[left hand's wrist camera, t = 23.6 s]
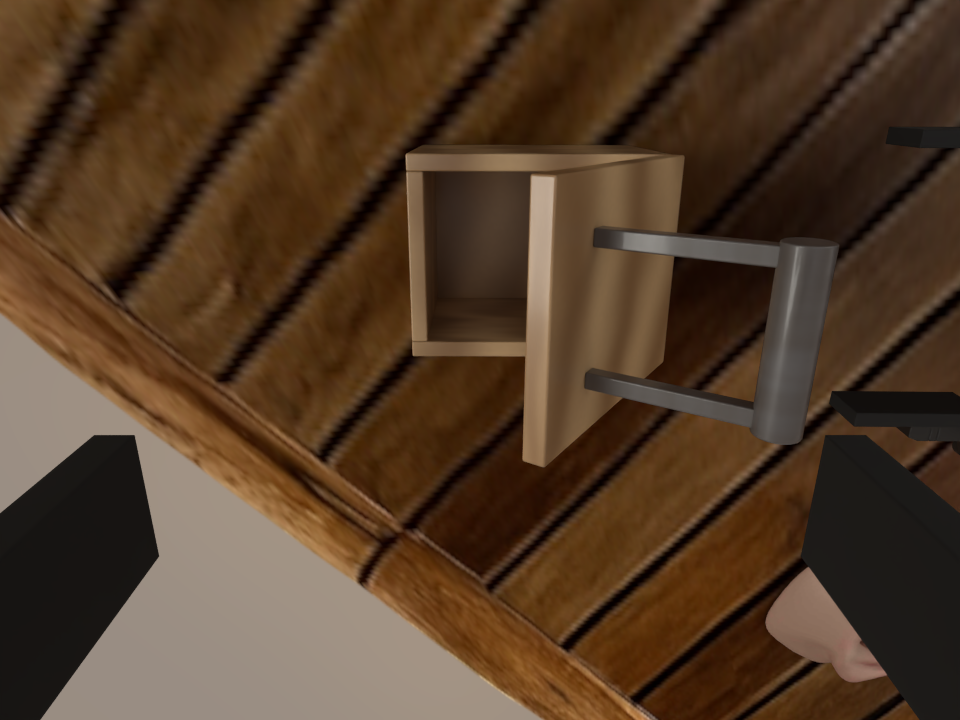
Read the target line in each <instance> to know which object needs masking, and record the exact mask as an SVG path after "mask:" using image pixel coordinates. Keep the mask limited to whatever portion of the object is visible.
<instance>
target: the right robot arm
mask: <svg viewBox="0 0 960 720" xmlns="http://www.w3.org/2000/svg"><path fill="white" fill-rule="evenodd" d="M886 144H892V145H900V146H908V147H917V148H960V127H889V130H888V135H887V140H886ZM829 404H830V405H831V406H832V407H833V408H835V409H836V410H837V411H838V412H839V413H840V414H841V415H842V416H843V417H844V418H845V419H847V420H848V421H849V422H850V423H851V424H852V425H853V426H864V427H897V428H898V429H899V430H900V431H902V432H903V433H904V434H905V435H906V436H908V437H909V438H912V439H914V440H917V441H928V440H929V441H954V442H953V444H952V448H953V450H954V451H955V452H956V453H958V454H959V455H960V397H959V396H958V395H956V394H955V393H953V392H874V391H832V393H831V398H830V402H829Z"/></svg>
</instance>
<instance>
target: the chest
mask: <svg viewBox="0 0 960 720" xmlns="http://www.w3.org/2000/svg"><path fill="white" fill-rule="evenodd" d="M660 155H671V154H668V153H663V152H658V151H653V150H648V149H644V148H639V147H634V146H630V145H422V146H420V147H418V148H417V149H415V150H413V151H411V152H409V153H407V154H406V170H407V172H406V180H407V208H408V236H409V264H410V293H411V321H412V340H413V342H412V349H413V356H526V320H527V284H528V248H529V212H530V176H531V174H533V173H539V172H547V171H554V170H561V169H568V168H575V167H582V166H589V165H596V164H603V163H610V162H617V161H624V160H631V159H638V158H645V157H653V156H660Z"/></svg>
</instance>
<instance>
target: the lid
mask: <svg viewBox="0 0 960 720" xmlns="http://www.w3.org/2000/svg"><path fill="white" fill-rule="evenodd" d="M684 159H685V157H684V155H660V156H653V157H645V158H638V159H631V160H624V161H617V162H610V163H603V164H596V165H589V166H582V167H575V168H568V169H561V170H554V171H547V172H539V173H533V174H531V176H530V212H529V248H528V284H527V320H526V356H525V392H524V428H523V461H525V462H528V463H531V464H534V465H538V466H541V467H545V466H546V465H548V464H549V463H550V462H551V461H552V460H553V459H554V458H555V457H557V456H558V455H559V454H560V453H561V452H562V451H563V450H564V449H566V448H567V447H568V446H569V445H570V444H571V443H572V442H573V441H575V440H576V439H577V438H578V437H579V436H580V435H581V434H582V433H584V432H585V431H586V430H587V429H588V428H589V427H590V426H591V425H593V424H594V423H595V422H596V421H597V420H598V419H599V418H600V417H602V416H603V415H604V414H605V413H606V412H607V411H608V410H609V409H610V408H612V407H613V406H614V405H615V404H616V403H617V402H618V401H619V400H621V399H622V398H626V399H630V400H635V401H639V402H643V403H647V404H652V405H656V406H660V407H665V408H669V409H673V410H677V411H682V412H686V413H690V414H695V415H699V416H703V417H707V418H712V419H716V420H720V421H725V422H729V423H733V424H737V425H742V426H746V427H750V431H751V433H752V434H753V435H754V436H755V437H757V438H759V439H761V440H764V441H767V442H770V443H775V444H783V445H789V444H795V443H798V442H800V441H801V440H802V437H803V432H804V426H805V421H806V416H807V411H808V406H809V400H810V395H811V390H812V385H813V380H814V374H815V369H816V364H817V359H818V354H819V348H820V343H821V338H822V333H823V327H824V322H825V317H826V312H827V307H828V301H829V296H830V291H831V286H832V281H833V275H834V270H835V265H836V260H837V255H838V249H839V244H838V243H836V242H834V241H830V240H825V239H817V238H805V237H791V238H784V239H781V240H780V242H771V241H760V240H749V239H739V238H728V237H718V236H707V235H696V234H686V233H677V225H678V216H679V206H680V197H681V187H682V178H683V168H684ZM674 256H675V257H684V258H693V259H702V260H711V261H719V262H728V263H737V264H746V265H755V266H764V267H773V268H775V274H774V280H773V286H772V292H771V299H770V305H769V311H768V317H767V324H766V330H765V336H764V342H763V349H762V355H761V361H760V367H759V374H758V380H757V386H756V392H755V399H754V402H750V401H746V400H741V399H736V398H732V397H727V396H722V395H718V394H713V393H708V392H704V391H699V390H694V389H690V388H685V387H680V386H676V385H671V384H666V383H662V382H657V381H652V380H648V379H644V378H645V377H646V376H648V375H649V374H650V373H651V372H652V371H653V370H654V369H655V368H657V367H658V366H659V365H660V364H661V363H662V362H663V358H664V348H665V339H666V329H667V320H668V310H669V301H670V291H671V282H672V272H673V263H674Z"/></svg>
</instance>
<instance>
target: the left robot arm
mask: <svg viewBox="0 0 960 720" xmlns="http://www.w3.org/2000/svg"><path fill="white" fill-rule="evenodd" d="M158 557H159V553H158V549H157V544H156V539H155V534H154V529H153V524H152V519H151V514H150V509H149V504H148V499H147V494H146V489H145V484H144V480H143V475H142V470H141V465H140V460H139V455H138V450H137V445H136V440H135V436H134V435H94V436H93V437H92V438H90V439H89V440H88V441H87V442H86V443H84V444H83V445H82V446H81V447H79V448H78V449H77V450H76V451H75V452H74V453H72V454H71V455H70V456H69V457H67V458H66V459H65V460H64V461H63V462H61V463H60V464H59V465H58V466H57V467H55V468H54V469H53V470H52V471H51V472H49V473H48V474H47V475H46V476H45V477H43V478H42V479H41V480H40V481H39V482H37V483H36V484H35V485H34V486H33V487H31V488H30V489H29V490H28V491H27V492H25V493H24V494H23V495H22V496H21V497H19V498H18V499H17V500H16V501H14V502H13V503H12V504H11V505H10V506H8V507H7V508H6V509H5V510H4V511H2V512H1V513H0V720H40V719H41V718H42V717H43V715H44V714H45V713H46V711H47V710H48V708H49V707H50V706H51V704H52V703H53V702H54V700H55V699H56V697H57V696H58V695H59V693H60V692H61V691H62V689H63V688H64V686H65V685H66V684H67V682H68V681H69V680H70V678H71V677H72V675H73V674H74V673H75V671H76V670H77V669H78V667H79V666H80V664H81V663H82V662H83V660H84V659H85V658H86V656H87V655H88V653H89V652H90V651H91V649H92V648H93V647H94V645H95V644H96V642H97V641H98V640H99V638H100V637H101V636H102V634H103V633H104V631H105V630H106V629H107V627H108V626H109V625H110V623H111V622H112V620H113V619H114V618H115V616H116V615H117V614H118V612H119V611H120V609H121V608H122V607H123V605H124V604H125V603H126V601H127V600H128V598H129V597H130V596H131V594H132V593H133V591H134V590H135V589H136V587H137V586H138V585H139V583H140V582H141V580H142V579H143V578H144V576H145V575H146V574H147V572H148V571H149V569H150V568H151V567H152V565H153V564H154V562H155V561H156V560H157V558H158ZM801 557H802V558H803V560H804V561H805V563H806V564H807V565H808V567H809V568H810V569H811V571H812V572H813V574H814V575H815V576H816V578H817V579H818V580H819V582H820V583H821V585H822V586H823V587H824V589H825V590H826V591H827V593H828V594H829V596H830V597H831V598H832V600H833V601H834V603H835V604H836V605H837V607H838V608H839V609H840V611H841V612H842V614H843V615H844V616H845V618H846V619H847V620H848V622H849V623H850V625H851V626H852V627H853V629H854V630H855V631H856V633H857V634H858V636H859V637H860V638H861V640H862V641H863V642H864V644H865V645H866V647H867V648H868V649H869V651H870V652H871V653H872V655H873V656H874V658H875V659H876V660H877V662H878V663H879V664H880V666H881V667H882V669H883V670H884V671H885V673H886V674H887V675H888V677H889V678H890V680H891V681H892V682H893V684H894V685H895V686H896V688H897V689H898V691H899V692H900V693H901V695H902V696H903V697H904V699H905V700H906V702H907V703H908V704H909V706H910V707H911V708H912V710H913V711H914V713H915V714H916V715H917V717H918V718H919V719H920V720H960V513H959V512H958V511H956V510H955V509H954V508H953V507H952V506H950V505H949V504H948V503H947V502H946V501H944V500H943V499H942V498H941V497H940V496H938V495H937V494H936V493H935V492H933V491H932V490H931V489H930V488H929V487H927V486H926V485H925V484H924V483H923V482H921V481H920V480H919V479H918V478H917V477H915V476H914V475H913V474H912V473H911V472H909V471H908V470H907V469H906V468H905V467H903V466H902V465H901V464H900V463H899V462H897V461H896V460H895V459H894V458H893V457H891V456H890V455H889V454H888V453H887V452H885V451H884V450H883V449H882V448H881V447H879V446H878V445H877V444H876V443H875V442H873V441H872V440H871V439H870V438H868V437H867V436H866V435H825V440H824V445H823V450H822V455H821V460H820V465H819V470H818V475H817V480H816V484H815V489H814V494H813V499H812V504H811V509H810V514H809V519H808V524H807V529H806V534H805V539H804V544H803V549H802V553H801Z"/></svg>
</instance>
